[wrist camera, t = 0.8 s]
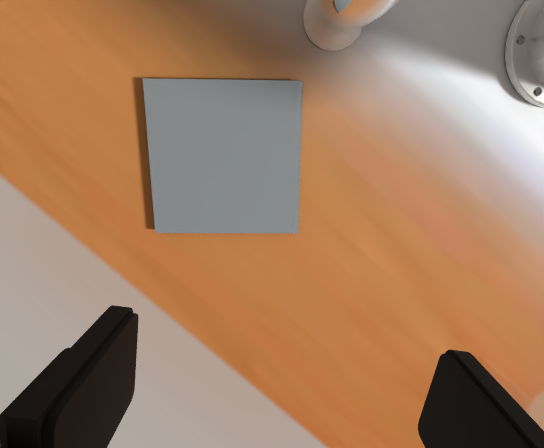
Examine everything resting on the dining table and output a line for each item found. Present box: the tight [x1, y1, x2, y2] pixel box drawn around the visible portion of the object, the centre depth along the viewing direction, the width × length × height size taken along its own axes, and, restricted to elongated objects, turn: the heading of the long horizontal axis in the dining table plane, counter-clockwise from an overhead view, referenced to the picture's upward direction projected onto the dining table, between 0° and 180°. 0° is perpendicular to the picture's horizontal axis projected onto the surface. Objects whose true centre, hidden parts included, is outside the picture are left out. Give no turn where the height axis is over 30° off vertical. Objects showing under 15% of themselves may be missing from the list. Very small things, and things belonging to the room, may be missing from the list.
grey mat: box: [143, 78, 303, 233], centre depth 35 cm, size 16×16×1 cm
